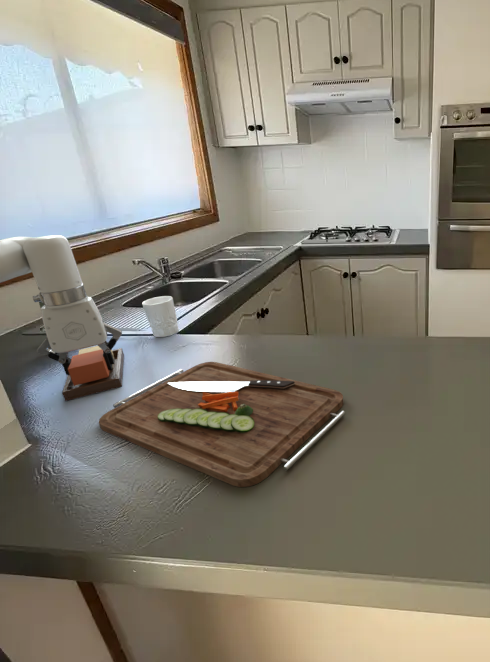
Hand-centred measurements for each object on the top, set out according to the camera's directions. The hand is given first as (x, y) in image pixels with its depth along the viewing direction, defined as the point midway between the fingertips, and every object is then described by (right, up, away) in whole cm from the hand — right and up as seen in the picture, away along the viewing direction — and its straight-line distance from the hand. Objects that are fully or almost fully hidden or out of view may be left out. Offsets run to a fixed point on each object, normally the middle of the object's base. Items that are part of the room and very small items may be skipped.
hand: (92, 371), depth 95 cm
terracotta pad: (0, -1, 0) cm, 1 cm away
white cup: (+3, +8, +28) cm, 29 cm away
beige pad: (-4, 0, +8) cm, 9 cm away
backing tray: (-2, -2, +5) cm, 5 cm away
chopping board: (+35, -6, -14) cm, 38 cm away
